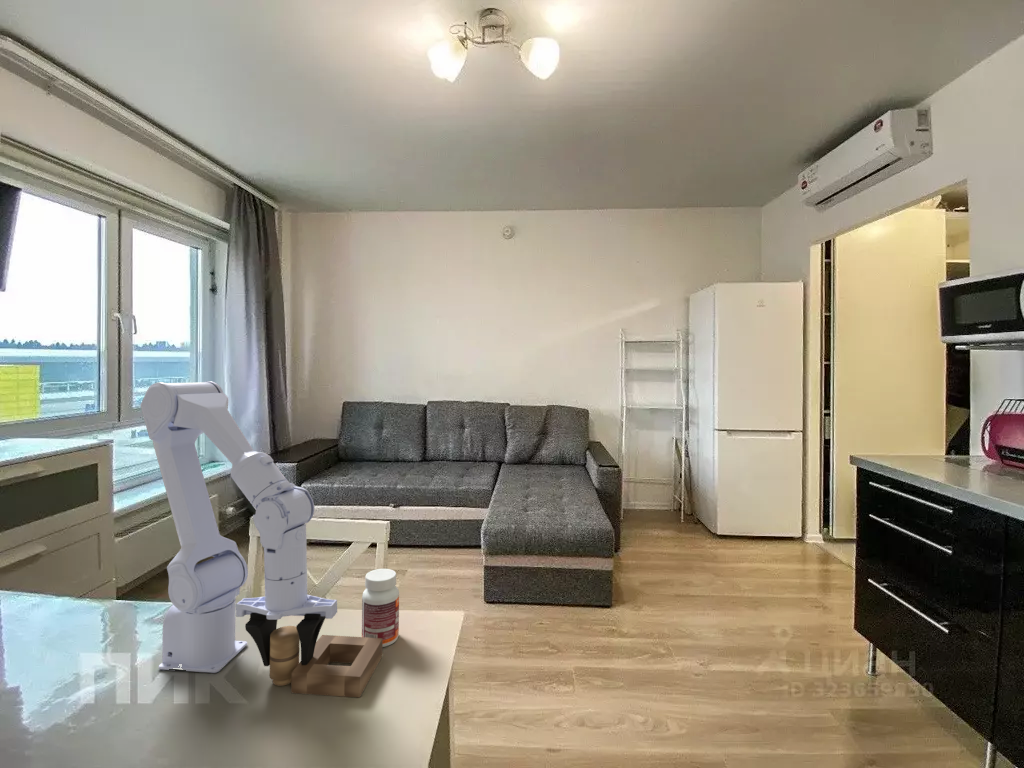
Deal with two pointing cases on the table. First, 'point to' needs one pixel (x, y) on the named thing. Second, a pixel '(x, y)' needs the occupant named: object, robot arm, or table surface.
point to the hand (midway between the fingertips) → (288, 662)
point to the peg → (283, 654)
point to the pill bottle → (380, 606)
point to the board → (338, 678)
